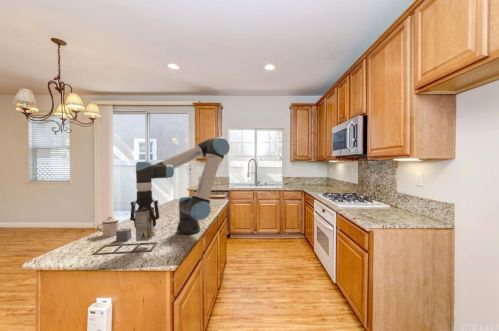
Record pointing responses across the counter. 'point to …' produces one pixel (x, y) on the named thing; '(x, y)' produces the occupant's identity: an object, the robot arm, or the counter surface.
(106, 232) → the teacup with lid
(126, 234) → the die
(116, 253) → the brown flat frame
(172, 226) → the counter surface
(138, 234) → the coffee box
